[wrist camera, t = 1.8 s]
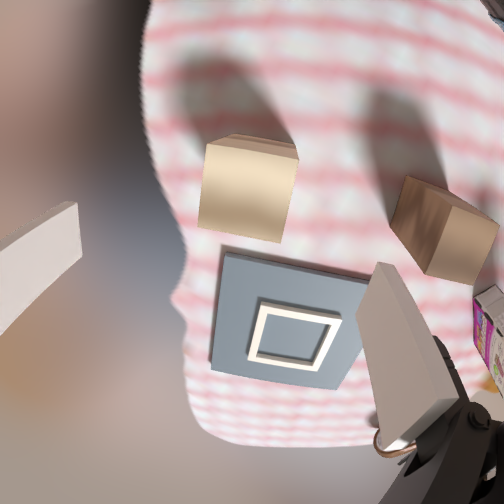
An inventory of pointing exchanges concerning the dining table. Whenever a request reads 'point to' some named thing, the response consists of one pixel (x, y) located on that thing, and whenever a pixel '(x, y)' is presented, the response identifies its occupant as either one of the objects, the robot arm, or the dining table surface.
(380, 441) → the tin
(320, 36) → the dining table surface
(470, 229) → the walnut block
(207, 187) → the birch block
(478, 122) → the dining table surface
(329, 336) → the square frame
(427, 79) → the dining table surface
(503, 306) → the candy bar box
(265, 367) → the baseboard
